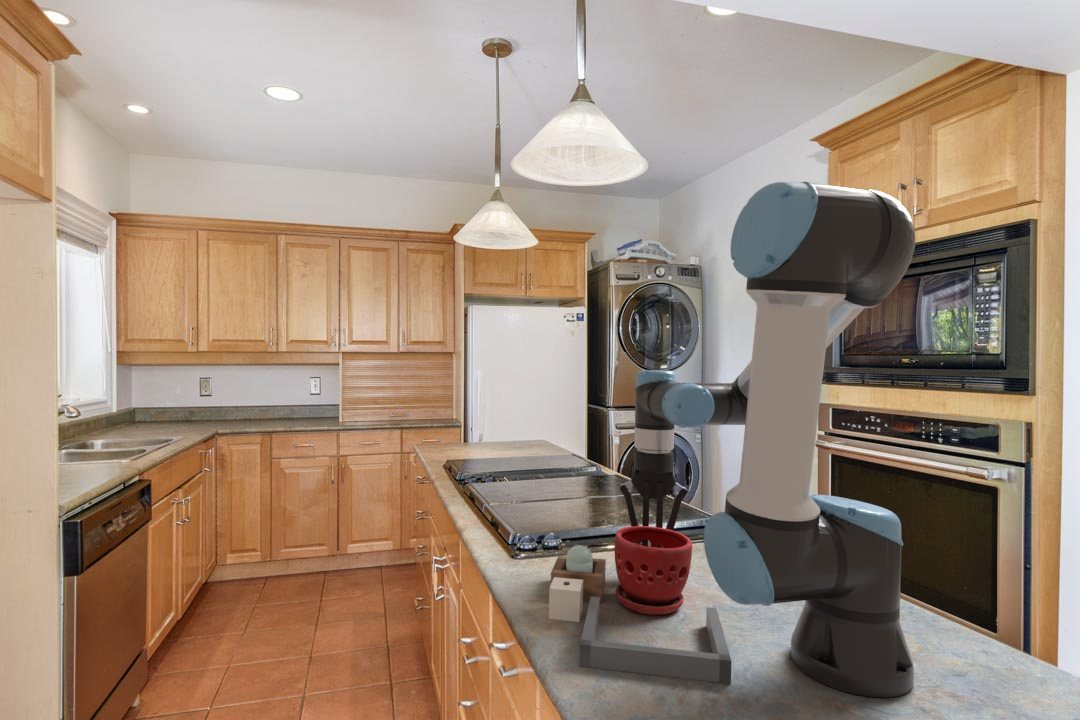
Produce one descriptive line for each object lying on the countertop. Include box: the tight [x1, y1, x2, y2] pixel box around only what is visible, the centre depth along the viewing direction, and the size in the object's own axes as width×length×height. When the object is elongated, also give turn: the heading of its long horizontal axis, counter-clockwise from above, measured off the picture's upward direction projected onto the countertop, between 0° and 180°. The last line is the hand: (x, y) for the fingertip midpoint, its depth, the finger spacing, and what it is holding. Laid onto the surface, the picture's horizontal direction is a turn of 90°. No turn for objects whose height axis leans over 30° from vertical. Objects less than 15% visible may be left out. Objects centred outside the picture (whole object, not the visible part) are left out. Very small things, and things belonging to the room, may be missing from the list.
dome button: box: [566, 544, 593, 573], centre depth 106 cm, size 5×5×7 cm
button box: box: [550, 555, 607, 604], centre depth 106 cm, size 9×9×4 cm
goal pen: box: [578, 596, 732, 685], centre depth 86 cm, size 20×16×3 cm
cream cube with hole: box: [548, 577, 584, 623], centre depth 97 cm, size 5×5×5 cm
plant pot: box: [614, 525, 693, 615], centre depth 101 cm, size 13×13×12 cm
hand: (651, 571), depth 113 cm, fingers closed
